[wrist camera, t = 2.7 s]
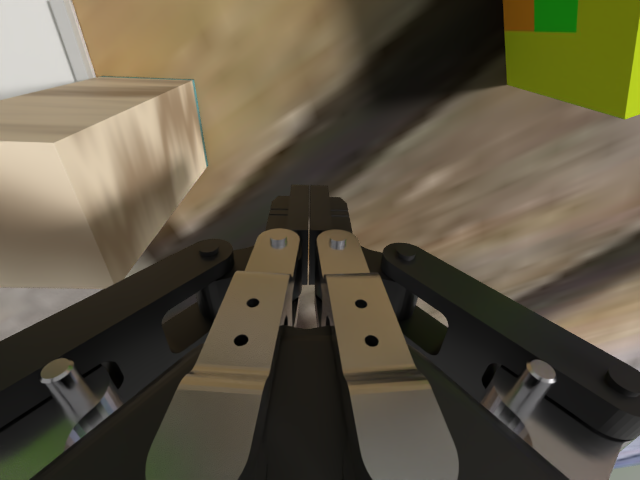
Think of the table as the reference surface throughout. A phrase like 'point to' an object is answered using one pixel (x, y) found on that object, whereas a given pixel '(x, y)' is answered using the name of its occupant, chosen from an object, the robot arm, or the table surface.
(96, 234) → the maple block
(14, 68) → the mat
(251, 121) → the table surface
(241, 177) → the table surface
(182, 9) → the table surface
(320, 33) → the table surface
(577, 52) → the puzzle toy
